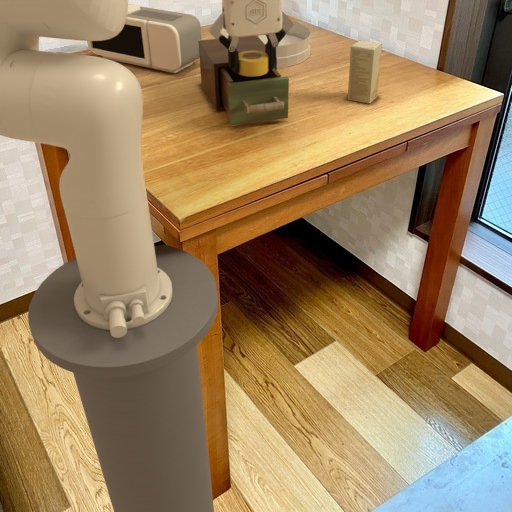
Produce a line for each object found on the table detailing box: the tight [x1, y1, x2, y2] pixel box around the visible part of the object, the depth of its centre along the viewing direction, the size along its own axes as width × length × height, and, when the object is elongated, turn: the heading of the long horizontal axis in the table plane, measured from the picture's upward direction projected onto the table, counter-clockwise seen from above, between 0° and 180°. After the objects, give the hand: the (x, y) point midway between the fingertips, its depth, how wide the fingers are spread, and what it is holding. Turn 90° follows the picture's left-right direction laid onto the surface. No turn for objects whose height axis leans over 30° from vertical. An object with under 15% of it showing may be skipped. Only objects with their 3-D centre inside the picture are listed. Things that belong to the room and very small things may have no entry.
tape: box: [238, 51, 269, 77], centre depth 110 cm, size 6×6×3 cm
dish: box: [220, 21, 312, 69], centre depth 145 cm, size 22×22×5 cm
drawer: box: [218, 66, 290, 127], centre depth 114 cm, size 18×11×8 cm, turn 16°
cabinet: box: [198, 36, 278, 112], centre depth 123 cm, size 15×13×10 cm
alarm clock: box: [86, 3, 203, 74], centre depth 139 cm, size 27×9×12 cm, turn 60°
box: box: [347, 40, 383, 104], centre depth 120 cm, size 5×4×11 cm
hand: (252, 68), depth 111 cm, fingers closed on tape, 6 cm apart
